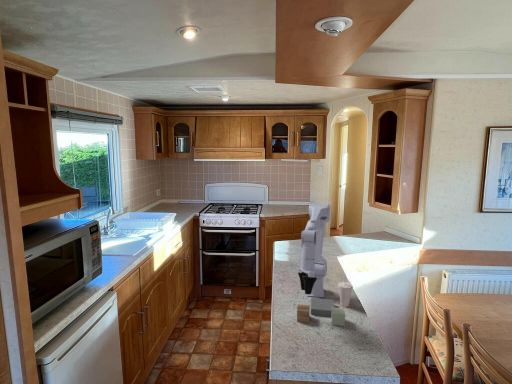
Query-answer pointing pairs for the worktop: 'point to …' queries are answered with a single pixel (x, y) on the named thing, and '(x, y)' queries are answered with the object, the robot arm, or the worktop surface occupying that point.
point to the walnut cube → (303, 313)
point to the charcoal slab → (321, 306)
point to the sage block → (338, 316)
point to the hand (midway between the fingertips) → (305, 292)
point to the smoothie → (345, 292)
